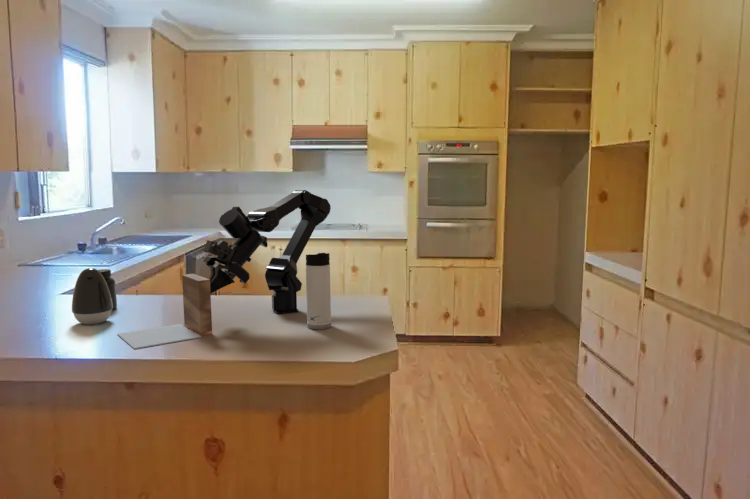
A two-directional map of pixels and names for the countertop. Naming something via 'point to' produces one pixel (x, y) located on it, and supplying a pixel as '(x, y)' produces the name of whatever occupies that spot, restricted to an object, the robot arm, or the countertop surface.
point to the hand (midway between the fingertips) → (204, 293)
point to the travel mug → (318, 291)
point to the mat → (158, 336)
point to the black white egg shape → (91, 298)
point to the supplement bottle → (110, 285)
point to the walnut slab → (197, 304)
